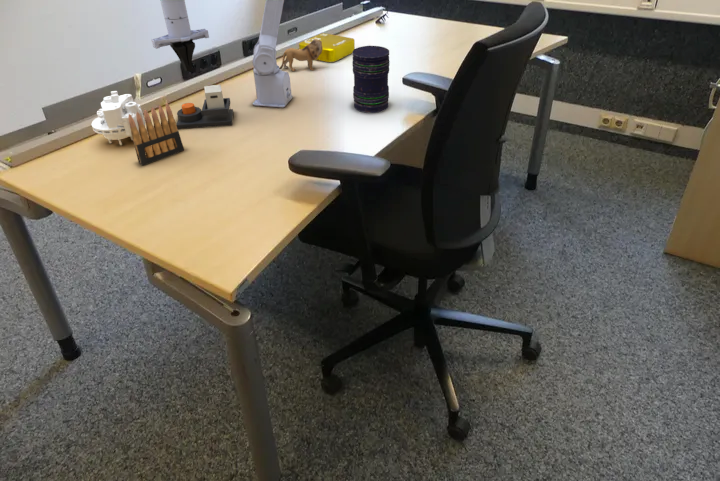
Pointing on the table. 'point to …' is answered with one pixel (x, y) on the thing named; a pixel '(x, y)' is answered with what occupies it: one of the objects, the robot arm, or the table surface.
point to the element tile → (332, 46)
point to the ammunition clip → (155, 136)
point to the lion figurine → (303, 54)
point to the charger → (214, 97)
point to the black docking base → (202, 119)
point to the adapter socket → (216, 111)
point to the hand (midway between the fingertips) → (188, 70)
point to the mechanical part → (116, 117)
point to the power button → (188, 108)
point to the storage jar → (370, 78)
